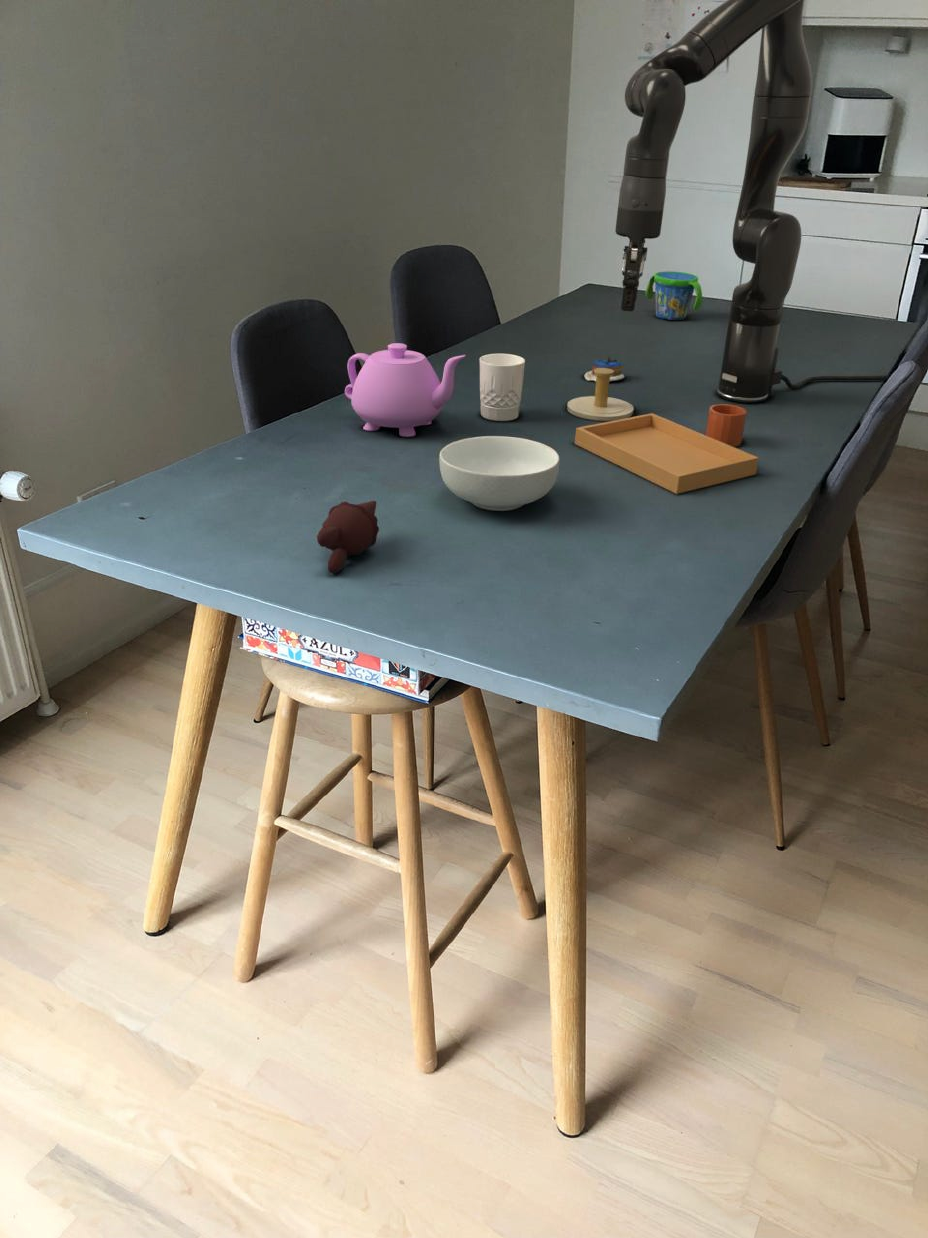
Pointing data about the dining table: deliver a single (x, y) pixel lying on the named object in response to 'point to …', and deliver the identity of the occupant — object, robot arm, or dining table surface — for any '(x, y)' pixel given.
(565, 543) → the dining table surface
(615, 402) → the round base post stand
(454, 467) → the cereal bowl
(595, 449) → the serving tray
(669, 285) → the snack cup
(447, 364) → the teapot
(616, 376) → the dessert
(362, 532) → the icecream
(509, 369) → the white cup
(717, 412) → the terracotta cup
